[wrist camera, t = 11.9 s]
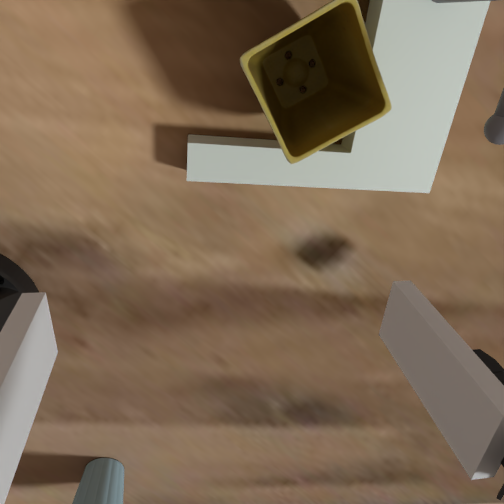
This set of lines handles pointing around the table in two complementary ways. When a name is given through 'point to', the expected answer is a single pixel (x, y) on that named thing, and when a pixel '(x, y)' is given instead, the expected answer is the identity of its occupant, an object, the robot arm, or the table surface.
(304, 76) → the flower pot
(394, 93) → the l-shaped hook stand
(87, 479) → the cup
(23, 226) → the table surface
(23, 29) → the table surface
